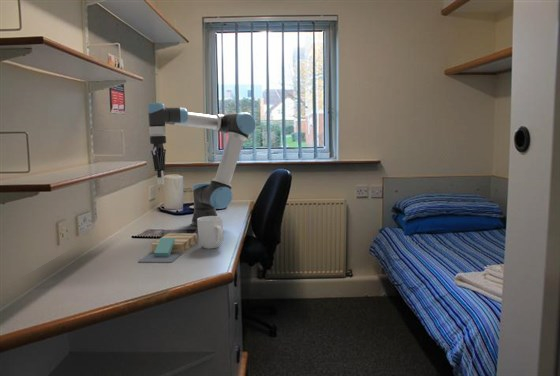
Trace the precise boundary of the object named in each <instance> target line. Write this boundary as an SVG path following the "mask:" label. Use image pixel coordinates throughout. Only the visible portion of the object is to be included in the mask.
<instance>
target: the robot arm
mask: <svg viewBox="0 0 560 376" xmlns="http://www.w3.org/2000/svg"><path fill="white" fill-rule="evenodd" d="M147 114H148V124H149V125H148V131H149V135H150V136H149V143H150V144H151V145H153V147H152V148H153V149H152V150H151V156H152V162H153V167H154V172H156V180H157V185H164V184H165V179H164V178H165V177H164V171H166V151H167V149H165V148H164V145H165V144H167V136H166V134H167V132H166V125H172V126H173V125H174V126H182V127H192V128H200V129H208V130H209V129H210V130H213V131H214V132H219V133H224V134H227V141H226V144H225V146H224V149H223V153H222V156H221V159H220V162H219V165H218V167H217V171H216V173H215V177H214V178H213V179H211V180H210V182H201V183H195V184H193V187H192V193H193V209H194V210H193V211H194V212H193V214H192V219H191V225H192V226H194V227H198V226H197V219H198V218H200V217H205V216H218V213H217V209H226V208H227V207H228V206H230V205H231V203H232V200H233V196H234V195H233V191H232V189H233V188H232V187H233V186H232V184H231V182H232V179H233V177H234V172H235V169H236V167H237V165H238V161H239V158H240V154H241V151H242V147H243V145H244V142H246V141H248V138H249V135H251V134H252V133H254V132H255V130H256V120H255V118H254V116H253V115H252V114H250V113H249V112H235V113H232V112H231V113H225V114H220V113H218V114H217V113H216V114H214V115H211V114H205V113H199V112H198V113H197V112H190V111H188V110H187V108H185V107H180V106H179V107H165V104H164V103H163V102H152V103H148V105H147Z"/></svg>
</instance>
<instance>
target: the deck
mask: <svg viewBox="0 0 560 376" xmlns="http://www.w3.org/2000/svg"><path fill="white" fill-rule="evenodd" d="M161 238H174V240H175V243H174V245H173V248H172V250H171V252H183V254H184V253H185V252H187V251H188V250H189V249H191V247H193V246H194V245H195V244H197V243H198V233H167V234H165V235H163V236H162V237H161ZM159 240H160V238H158V239H157V240H156V241H153V242H152V243H151V244H150V249H151V252H155V249H156V247H157V245H158V242H159Z"/></svg>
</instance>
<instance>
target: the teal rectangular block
mask: <svg viewBox="0 0 560 376" xmlns="http://www.w3.org/2000/svg"><path fill="white" fill-rule="evenodd" d="M159 239H160V240H159V242H158V245H157V247H156V249H155V252H154V254H155V256H169V255H170V253H171V250H172V248H173V245H174V243H175V240H174V238H162V237H160V238H159Z"/></svg>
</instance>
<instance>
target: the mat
mask: <svg viewBox="0 0 560 376" xmlns="http://www.w3.org/2000/svg"><path fill="white" fill-rule="evenodd" d="M183 254H184V253H183V252H171V253H170V255H169V256H155V254H154V252H152V251H151V252H150V253H148V254H147V255H146V256H144V257H143V258H141V259H140V260H138V261H137V263H148V264H149V263H151V264H152V263H153V264H154V263H157V264H158V263H159V264H160V263H166V264H167V263H168V264H170V263H171V264H172V263H174V262H175V260H177V259H178V258H179V257H180V256H182V255H183Z"/></svg>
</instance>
